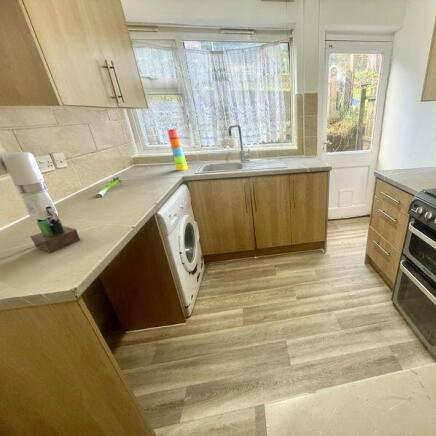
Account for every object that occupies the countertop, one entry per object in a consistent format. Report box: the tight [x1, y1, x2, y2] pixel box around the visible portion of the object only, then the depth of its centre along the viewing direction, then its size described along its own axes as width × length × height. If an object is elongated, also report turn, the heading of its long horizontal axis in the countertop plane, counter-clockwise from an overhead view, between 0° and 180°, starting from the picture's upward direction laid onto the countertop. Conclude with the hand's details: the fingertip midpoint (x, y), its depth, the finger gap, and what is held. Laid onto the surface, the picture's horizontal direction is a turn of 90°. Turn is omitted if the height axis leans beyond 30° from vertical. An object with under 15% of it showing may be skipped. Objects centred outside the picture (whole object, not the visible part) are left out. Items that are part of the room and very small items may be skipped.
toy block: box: [36, 218, 65, 237], centre depth 93 cm, size 5×5×5 cm
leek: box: [95, 176, 123, 198], centre depth 164 cm, size 6×7×30 cm
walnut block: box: [29, 225, 81, 254], centre depth 95 cm, size 10×10×5 cm
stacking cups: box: [167, 128, 188, 171], centre depth 209 cm, size 10×10×35 cm
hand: (53, 231), depth 94 cm, fingers open, 7 cm apart
